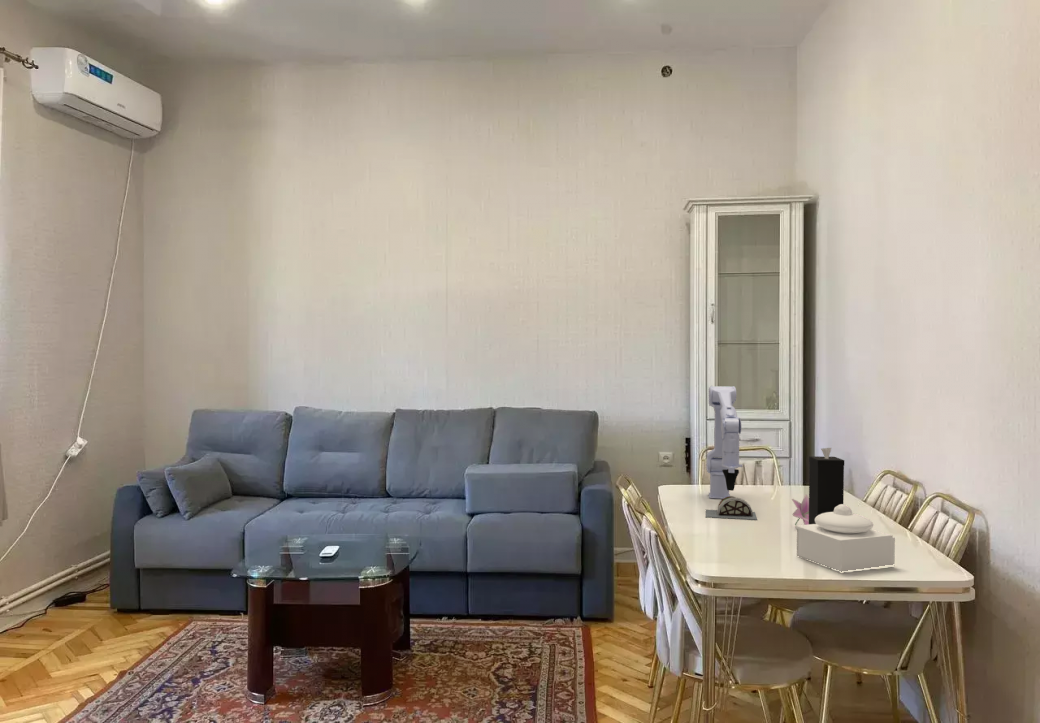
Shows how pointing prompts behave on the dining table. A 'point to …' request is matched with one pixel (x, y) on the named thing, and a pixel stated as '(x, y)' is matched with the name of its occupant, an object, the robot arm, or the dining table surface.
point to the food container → (734, 507)
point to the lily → (802, 510)
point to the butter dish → (845, 541)
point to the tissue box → (825, 484)
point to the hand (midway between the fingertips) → (730, 490)
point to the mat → (714, 515)
